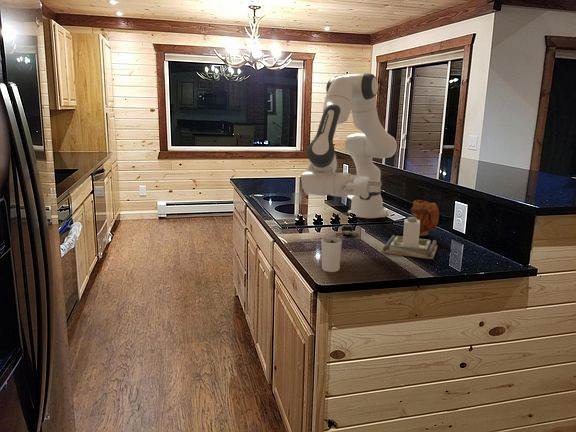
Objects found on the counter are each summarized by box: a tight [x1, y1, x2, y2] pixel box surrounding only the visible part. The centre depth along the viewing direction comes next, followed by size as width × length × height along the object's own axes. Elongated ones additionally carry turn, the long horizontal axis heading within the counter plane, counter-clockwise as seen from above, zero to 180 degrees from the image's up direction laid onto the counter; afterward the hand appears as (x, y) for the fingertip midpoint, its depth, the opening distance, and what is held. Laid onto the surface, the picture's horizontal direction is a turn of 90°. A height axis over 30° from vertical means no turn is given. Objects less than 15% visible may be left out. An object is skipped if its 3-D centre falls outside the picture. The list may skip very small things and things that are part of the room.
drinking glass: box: [321, 236, 343, 273], centre depth 153 cm, size 7×7×10 cm
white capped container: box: [402, 216, 420, 248], centre depth 172 cm, size 6×6×11 cm
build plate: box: [334, 224, 360, 238], centre depth 192 cm, size 12×7×5 cm, turn 86°
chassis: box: [381, 234, 438, 260], centre depth 174 cm, size 17×18×3 cm
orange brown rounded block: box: [409, 199, 440, 237], centre depth 189 cm, size 15×8×15 cm, turn 22°
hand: (380, 186), depth 171 cm, fingers open, 8 cm apart
